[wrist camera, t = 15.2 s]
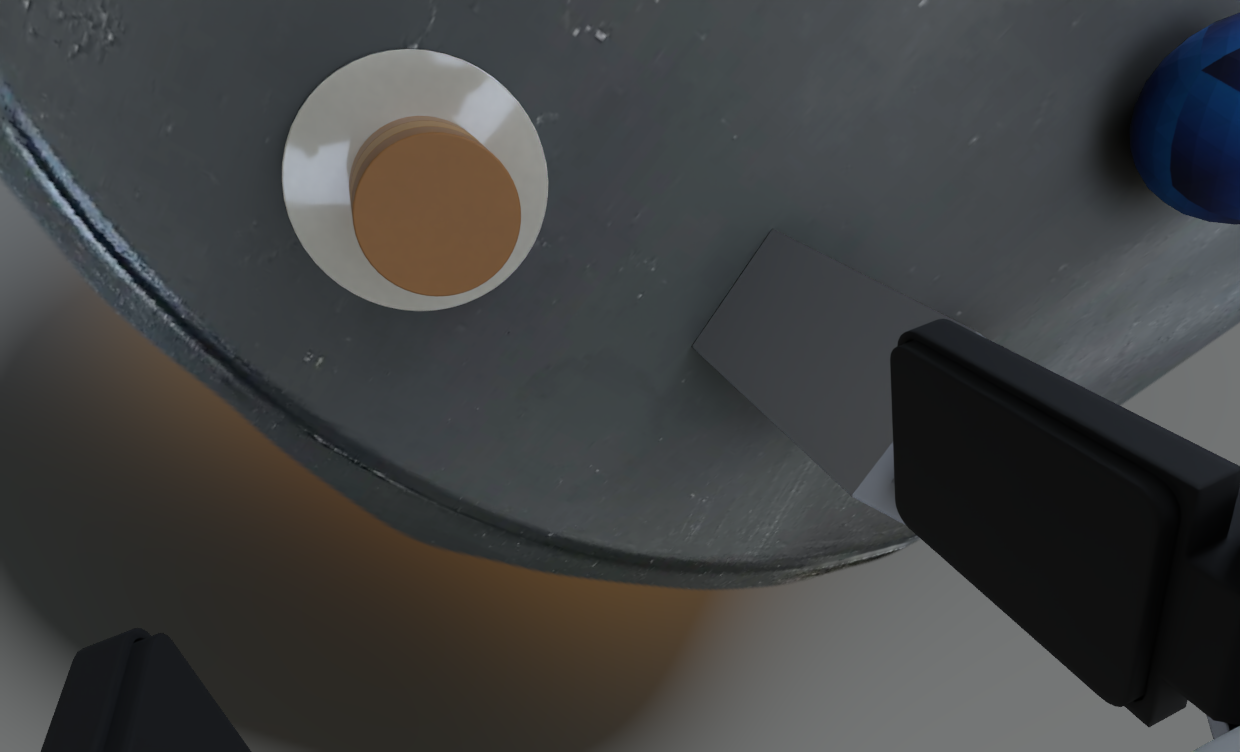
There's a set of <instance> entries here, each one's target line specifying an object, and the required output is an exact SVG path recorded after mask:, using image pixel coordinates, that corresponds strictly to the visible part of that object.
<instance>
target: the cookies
mask: <svg viewBox="0 0 1240 752" xmlns="http://www.w3.org/2000/svg"><path fill="white" fill-rule="evenodd" d="M349 193H350V202H351V211H352V219H353V226H354V230H355V235H356V238H357V241H358V243H359V246H360V248H361V250H362V252H363V254H364V255H365V257H366V258H367V260H368V261H369V263H370V264H371V265H372V266H373V267H374V268H375V269H376V271H377V272H378V273H379V274H381V275H382V276H383V277H384V278H385V279H387V280H388V281H390V282H391V283H393V284H394V285H396V286H398V287H400V288H402V289H404V290H407V291H410V292H413V293H416V294H420V295H425V296H436V297H438V296H451V295H457V294H461V293H464V292H467V291H470V290H472V289H474V288H477V287H478V286H480V285H482V284H484V283H485V282H487V281H488V280H489V279H491V278H492V277H493V276H494V275H495V274H496V273H497V272H498V271H499V270H500V269H501V268H502V267H503V266H504V264H505V263H506V262H507V260H508V259H509V257H510V255H511V254H512V252H513V250H514V247H515V245H516V243H517V239H518V236H519V232H520V225H521V206H520V200H519V196H518V192H517V189H516V186H515V184H514V181H513V179H512V178H511V176H510V174H509V172H508V171H507V169H506V168H505V167H504V165H503V164H502V162H501V161H500V160H499V159H498V158H497V157H496V156H495V155H494V154H493V153H492V152H490V151H489V150H488V149H487V148H486V147H485V146H484V145H483V144H481V143H480V142H479V141H478V140H477V139H476V138H475V137H474V136H472V135H471V134H470V133H469V132H467V131H466V130H465V129H463V128H462V127H460V126H458V125H457V124H454V123H452V122H450V121H448V120H444V119H441V118H437V117H431V116H410V117H405V118H401V119H397V120H395V121H392V122H390V123H388V124H386V125H384V126H382V127H381V128H379V129H378V130H377V131H375V132H374V133H373V134H372V135H371V136H370V137H369V138H368V139H367V140H366V141H365V142H364V144H363V145H362V146H361V148H360V149H359V151H358V153H357V155H356V157H355V159H354V162H353V165H352V168H351V173H350V179H349Z"/></svg>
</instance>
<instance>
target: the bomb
mask: <svg viewBox="0 0 1240 752" xmlns="http://www.w3.org/2000/svg"><path fill="white" fill-rule="evenodd" d="M1130 146H1131V153H1132V156H1133V159H1134V163H1135V166H1136V169H1137V170H1138V172H1139V174H1140V176H1141V177H1142V179H1143V181H1144V182H1145V184H1146V186H1147V187H1148V189H1150V190H1151V191H1152V192H1153V193H1154V194H1155V195H1156V196H1158V197H1159V198H1160V199H1161V200H1162V201H1163V202H1165V203H1166V204H1168V205H1169V206H1171V207H1173V208H1174V209H1176V210H1178V211H1179V212H1181V213H1183V214H1185V215H1189V216H1192V217H1196V218H1199V219H1202V220H1206V221H1209V222H1218V223H1227V224H1240V13H1238V14H1235V15H1232V16H1230V17H1227V18H1225V19H1222V20H1219V21H1217V22H1215V23H1213V24H1211V25H1209V26H1208V27H1206V28H1204V29H1202V30H1201V31H1199V32H1197V33H1195V34H1194V35H1192V36H1190V37H1189V38H1188V39H1186V40H1185V41H1184V42H1183V43H1182V44H1180V45H1179V46H1178V47H1177V48H1176V49H1175V50H1173V51H1172V52H1171V53H1170V54H1169V55H1168V56H1166V57H1165V58H1164V59H1163V61H1162V62H1161V63H1160V64H1159V66H1158V67H1157V68H1156V70H1155V71H1154V72H1153V74H1152V75H1151V76H1150V77H1149V79H1148V80H1147V81H1146V83H1145V85H1144V87H1143V89H1142V91H1141V93H1140V95H1139V98H1138V100H1137V102H1136V104H1135V106H1134V111H1133V116H1132V120H1131V125H1130Z"/></svg>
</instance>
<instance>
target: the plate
mask: <svg viewBox="0 0 1240 752" xmlns="http://www.w3.org/2000/svg"><path fill="white" fill-rule="evenodd" d="M410 116H431V117H437V118H441V119H444V120H448V121H450V122H452V123H454V124H457V125H458V126H460V127H462V128H463V129H465V130H466V131H467V132H469V133H470V134H471V135H472V136H474V137H475V138H476V139H477V140H478V141H479V142H480V143H481V144H483V145H484V146H485V147H486V148H487V149H488V150H489V151H490V152H492V153H493V154H494V155H495V156H496V157H497V158H498V159H499V160H500V161H501V162H502V164H503V165H504V167H505V168H506V169H507V171H508V172H509V174H510V176H511V178H512V179H513V181H514V184H515V186H516V189H517V192H518V196H519V200H520V206H521V225H520V232H519V236H518V239H517V243H516V245H515V247H514V250H513V252H512V254H511V255H510V257H509V259H508V260H507V262H506V263H505V264H504V266H503V267H502V268H501V269H500V270H499V271H498V272H497V273H496V274H495V275H494V276H493V277H492V278H491V279H489V280H488V281H487V282H485V283H484V284H482V285H480V286H478V287H477V288H474V289H472V290H470V291H467V292H464V293H461V294H457V295H451V296H438V297H436V296H425V295H420V294H416V293H413V292H410V291H407V290H404V289H402V288H400V287H398V286H396V285H394V284H393V283H391V282H390V281H388V280H387V279H385V278H384V277H383V276H382V275H381V274H379V273H378V272H377V271H376V269H375V268H374V267H373V266H372V265H371V264H370V263H369V261H368V260H367V258H366V257H365V255H364V254H363V252H362V250H361V248H360V246H359V243H358V241H357V238H356V235H355V230H354V226H353V219H352V211H351V202H350V193H349V179H350V173H351V168H352V165H353V162H354V159H355V157H356V155H357V153H358V151H359V149H360V148H361V146H362V145H363V144H364V142H365V141H366V140H367V139H368V138H369V137H370V136H371V135H372V134H373V133H374V132H375V131H377V130H378V129H379V128H381V127H382V126H384V125H386V124H388V123H390V122H392V121H395V120H397V119H401V118H405V117H410ZM282 188H283V197H284V201H285V205H286V209H287V213H288V217H289V219H290V221H291V224H292V226H293V229H294V231H295V233H296V235H297V237H298V239H299V240H300V242H301V244H302V246H303V247H304V249H305V250H306V252H307V253H308V254H309V256H310V257H311V258H312V260H313V261H314V262H315V263H316V264H317V265H318V266H319V267H320V268H321V269H322V270H323V271H324V272H325V273H326V275H328V276H329V277H330V278H331V279H333V280H334V281H335V282H336V283H338V284H339V285H340V286H342V287H343V288H345V289H347V290H348V291H350V292H351V293H353V294H355V295H357V296H359V297H361V298H363V299H366V300H368V301H370V302H373V303H376V304H379V305H382V306H385V307H389V308H395V309H400V310H409V311H433V310H441V309H446V308H452V307H455V306H458V305H462V304H465V303H468V302H470V301H472V300H474V299H477V298H479V297H481V296H483V295H485V294H486V293H488V292H490V291H491V290H493V289H494V288H496V287H497V286H498V285H500V284H501V283H502V282H503V281H505V280H506V279H507V278H508V277H509V276H510V275H511V274H512V273H513V272H514V271H515V270H516V269H517V268H518V267H519V265H520V264H521V263H522V262H523V260H524V259H525V258H526V256H527V255H528V253H529V251H530V250H531V248H532V246H533V245H534V243H535V241H536V239H537V236H538V234H539V231H540V229H541V226H542V223H543V219H544V216H545V212H546V205H547V199H548V174H547V164H546V160H545V155H544V151H543V147H542V144H541V142H540V139H539V136H538V134H537V131H536V129H535V127H534V125H533V124H532V122H531V120H530V118H529V116H528V115H527V113H526V112H525V110H524V109H523V107H522V106H521V105H520V103H519V102H518V101H517V100H516V98H515V97H514V96H513V95H512V94H511V93H510V92H509V91H508V90H507V89H506V88H505V87H504V86H503V85H502V84H501V83H499V82H498V81H497V80H496V79H495V78H494V77H492V76H491V75H489V74H488V73H486V72H485V71H483V70H482V69H480V68H479V67H477V66H475V65H473V64H471V63H468V62H466V61H464V60H462V59H460V58H457V57H454V56H451V55H448V54H445V53H442V52H437V51H432V50H427V49H416V48H399V49H387V50H383V51H379V52H374V53H370V54H367V55H365V56H362V57H359V58H357V59H354V60H352V61H350V62H348V63H347V64H345V65H343V66H341V67H340V68H338V69H336V70H335V71H334V72H332V73H331V74H330V75H329V76H327V77H326V78H325V79H323V80H322V81H321V82H320V83H319V84H318V85H317V86H316V88H315V89H314V90H313V91H312V92H311V93H310V94H309V95H308V97H307V98H306V100H305V101H304V103H303V104H302V105H301V107H300V108H299V110H298V112H297V114H296V116H295V118H294V120H293V122H292V125H291V128H290V131H289V134H288V137H287V140H286V143H285V148H284V154H283V160H282Z"/></svg>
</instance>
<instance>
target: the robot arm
mask: <svg viewBox="0 0 1240 752" xmlns="http://www.w3.org/2000/svg"><path fill="white" fill-rule="evenodd" d="M890 369H891V398H892V426H893V454H894V483H895V503H896V508H897V511H898V513H899V515H900V517H901V519H902V520H903V522H904V523H905V524H906V525H907V526H908V528H909V529H911V530H912V531H913V532H914V533H915V534H916V535H917V536H919V537H920V538H921V539H922V540H923V541H924V542H925V543H926V544H928V545H929V546H930V547H931V548H932V549H933V550H934V551H936V552H937V553H938V554H939V555H940V556H941V557H942V558H944V559H945V560H946V561H947V562H948V563H949V564H950V565H951V566H953V567H954V568H955V569H956V570H957V571H958V572H959V573H960V574H962V575H963V576H964V577H965V578H966V579H967V580H968V581H969V582H971V583H972V584H973V585H974V586H975V587H976V588H977V589H978V590H980V591H981V592H982V593H983V594H984V595H985V596H986V597H988V598H989V599H990V600H991V601H992V602H993V603H994V604H995V605H997V606H998V607H999V608H1000V609H1001V610H1002V611H1003V612H1004V613H1006V614H1007V615H1008V616H1009V617H1010V618H1011V619H1012V620H1014V621H1015V622H1016V623H1017V624H1018V625H1019V626H1020V627H1021V628H1023V629H1024V630H1025V631H1026V632H1027V633H1029V635H1031V636H1032V637H1033V638H1034V639H1035V640H1036V641H1037V642H1038V643H1040V644H1041V645H1042V646H1043V647H1044V648H1045V649H1047V651H1049V652H1050V653H1051V654H1052V655H1053V656H1054V657H1055V658H1057V659H1058V660H1059V661H1060V662H1061V663H1062V664H1063V665H1064V666H1066V667H1067V668H1068V669H1069V670H1070V671H1071V672H1073V674H1075V675H1076V676H1077V677H1078V678H1079V679H1080V680H1081V681H1083V682H1084V683H1085V684H1086V685H1087V686H1088V687H1089V688H1090V689H1092V690H1093V691H1094V692H1095V693H1096V694H1097V695H1099V696H1100V697H1101V698H1102V699H1103V700H1105V701H1106V702H1108V703H1109V704H1112V705H1114V706H1118V707H1122V706H1125V707H1126V708H1127V709H1128V710H1129V711H1131V712H1132V713H1133V714H1134V715H1135V716H1136V717H1137V718H1139V719H1140V720H1141V721H1142V722H1143V723H1144V724H1146V725H1147V726H1148V727H1150V726H1152V725H1154V724H1156V723H1158V722H1159V721H1161V720H1163V719H1165V718H1167V717H1168V716H1170V715H1172V714H1174V713H1176V712H1177V711H1179V710H1181V709H1183V708H1185V707H1186V704H1187V700H1189V701H1190V702H1191V703H1193V704H1194V705H1195V706H1196V707H1198V708H1199V709H1200V710H1201V711H1203V712H1204V713H1205V714H1206V715H1207V718H1208V722H1209V725H1210V729H1211V732H1212V735H1213V739H1214V740H1212V741H1210V742H1208V743H1207V744H1205V745H1203V746H1201V747H1199V748H1197V749H1196V750H1194V751H1192V752H1240V466H1238V465H1236V464H1234V463H1232V462H1230V461H1228V460H1226V459H1224V458H1222V457H1220V456H1218V455H1216V454H1214V453H1212V452H1210V451H1208V450H1206V449H1204V448H1202V447H1200V446H1199V445H1197V444H1195V443H1193V442H1191V441H1189V440H1187V439H1184V438H1183V437H1181V436H1179V435H1177V434H1174V433H1173V432H1171V431H1169V430H1167V429H1165V428H1163V427H1161V426H1159V425H1157V424H1155V423H1153V422H1151V421H1149V420H1147V419H1145V418H1143V417H1141V416H1139V415H1137V414H1135V413H1133V412H1131V411H1129V410H1127V409H1125V408H1123V407H1121V406H1119V405H1117V404H1115V403H1113V402H1111V401H1109V400H1107V399H1105V398H1103V397H1101V396H1099V395H1097V394H1095V393H1093V392H1091V391H1089V390H1087V389H1085V388H1083V387H1082V386H1080V385H1078V384H1076V383H1074V382H1072V381H1070V380H1068V379H1066V378H1064V377H1062V376H1060V375H1058V374H1056V373H1054V372H1052V371H1050V370H1048V369H1046V368H1044V367H1042V366H1040V365H1038V364H1036V363H1034V362H1032V361H1030V360H1028V359H1026V358H1024V357H1022V356H1020V355H1018V354H1016V353H1014V352H1012V351H1010V350H1008V349H1006V348H1004V347H1002V346H1000V345H998V344H996V343H994V342H992V341H990V340H988V339H986V338H984V337H982V336H980V335H978V334H976V333H974V332H972V331H970V330H968V329H966V328H965V327H963V326H961V325H959V324H957V323H955V322H953V321H951V320H947V319H938V320H935V321H932V322H930V323H927V324H925V325H922V326H919V327H917V328H914V329H912V330H909V331H906V332H904V333H903V334H902V335H901V336H900V338H899V340H898V345H897V347H895V348H894V349H893V350H892V352H891V356H890ZM41 752H251V751H250V749H249V748H248V746H247V745H246V744H245V742H244V741H243V739H242V738H241V737H240V735H239V734H238V732H237V731H236V730H235V728H234V727H233V725H232V724H231V723H230V721H229V720H228V718H227V717H226V715H225V714H224V713H223V712H222V710H221V708H220V707H219V706H218V704H217V703H216V701H215V700H214V699H213V697H212V696H211V694H210V693H209V692H208V690H207V689H206V687H205V686H204V685H203V683H202V682H201V680H200V679H199V677H198V676H197V675H196V673H195V672H194V670H193V669H192V668H191V666H190V665H189V663H188V662H187V661H186V659H185V658H184V656H183V655H182V654H181V652H180V651H179V649H178V648H177V647H176V645H175V644H174V642H173V641H172V640H171V639H170V637H168V636H167V635H165V634H164V633H158V634H156V635H153V636H151V635H150V634H149V633H148V632H147V631H145V630H143V629H141V628H135V629H132V630H129V631H127V632H124V633H122V634H119V635H117V636H114V637H111V638H109V639H106V640H103V641H101V642H98V643H96V644H93V645H90V646H88V647H85V648H83V649H82V650H80V651H79V652H77V654H76V656H75V657H74V659H73V662H72V665H71V667H70V670H69V673H68V676H67V679H66V682H65V684H64V687H63V690H62V693H61V696H60V698H59V701H58V704H57V707H56V710H55V713H54V716H53V718H52V721H51V724H50V727H49V730H48V733H47V735H46V738H45V742H44V744H43V747H42V750H41Z"/></svg>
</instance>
